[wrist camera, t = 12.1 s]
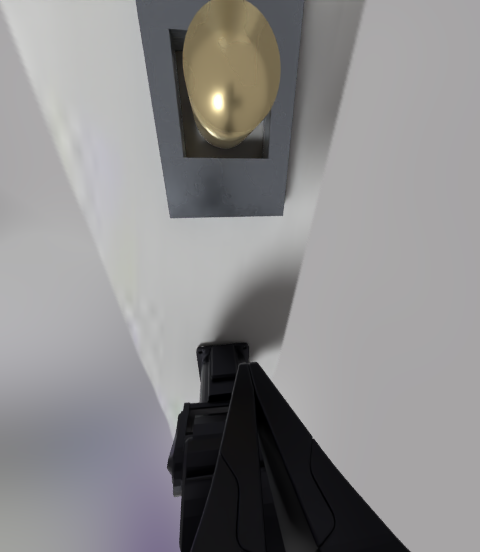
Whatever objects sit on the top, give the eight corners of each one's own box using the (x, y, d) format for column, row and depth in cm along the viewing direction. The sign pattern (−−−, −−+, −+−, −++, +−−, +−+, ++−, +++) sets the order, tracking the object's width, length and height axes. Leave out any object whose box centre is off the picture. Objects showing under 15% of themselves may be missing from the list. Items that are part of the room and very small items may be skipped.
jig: (275, 211, 18) (282, 215, 16) (174, 213, 17) (170, 218, 15) (296, -37, 11) (311, -77, 9) (134, -59, 10) (118, -109, 8)
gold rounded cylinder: (254, 147, 15) (278, 130, 10) (197, 150, 15) (192, 134, 9) (252, 70, 13) (282, -3, 8) (187, 70, 13) (172, -7, 7)
